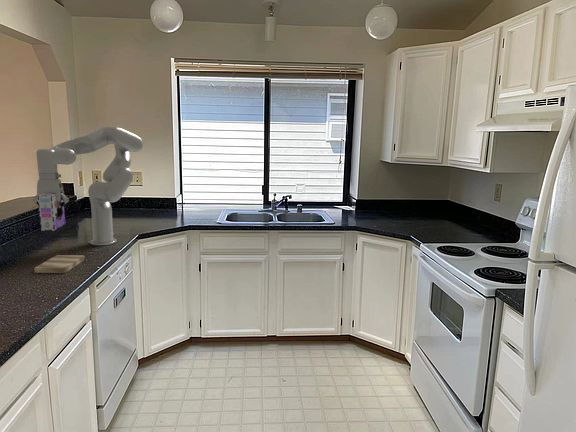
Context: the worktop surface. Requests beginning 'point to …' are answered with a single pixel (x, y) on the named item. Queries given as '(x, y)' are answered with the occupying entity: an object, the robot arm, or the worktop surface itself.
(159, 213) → the worktop surface
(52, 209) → the candy box
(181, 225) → the worktop surface
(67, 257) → the cutting board
